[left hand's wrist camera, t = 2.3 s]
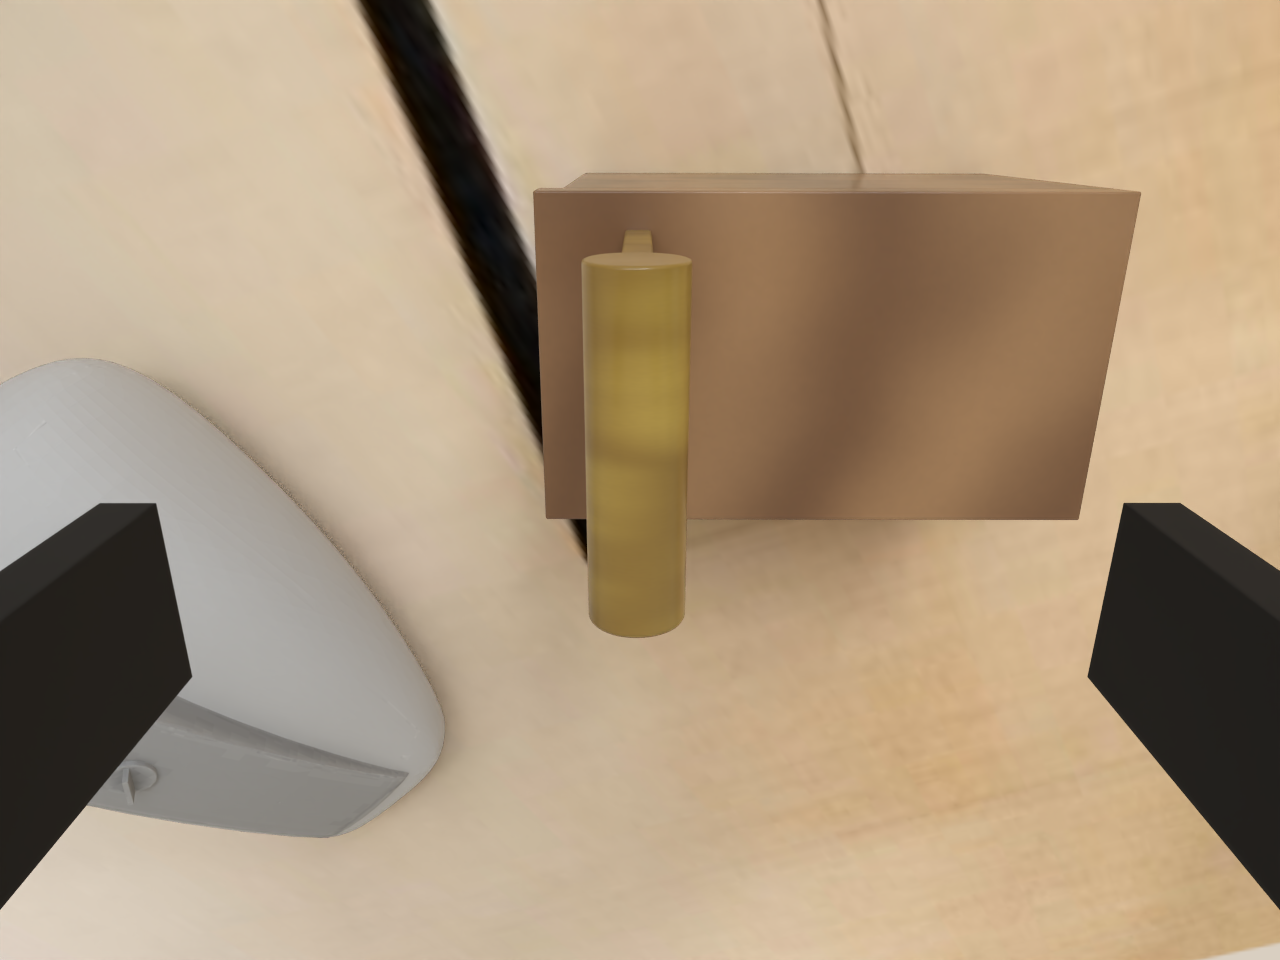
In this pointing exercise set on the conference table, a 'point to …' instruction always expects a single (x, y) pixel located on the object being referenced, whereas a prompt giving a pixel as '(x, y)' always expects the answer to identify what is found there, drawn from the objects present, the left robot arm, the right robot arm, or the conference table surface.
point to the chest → (813, 181)
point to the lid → (814, 362)
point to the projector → (226, 614)
